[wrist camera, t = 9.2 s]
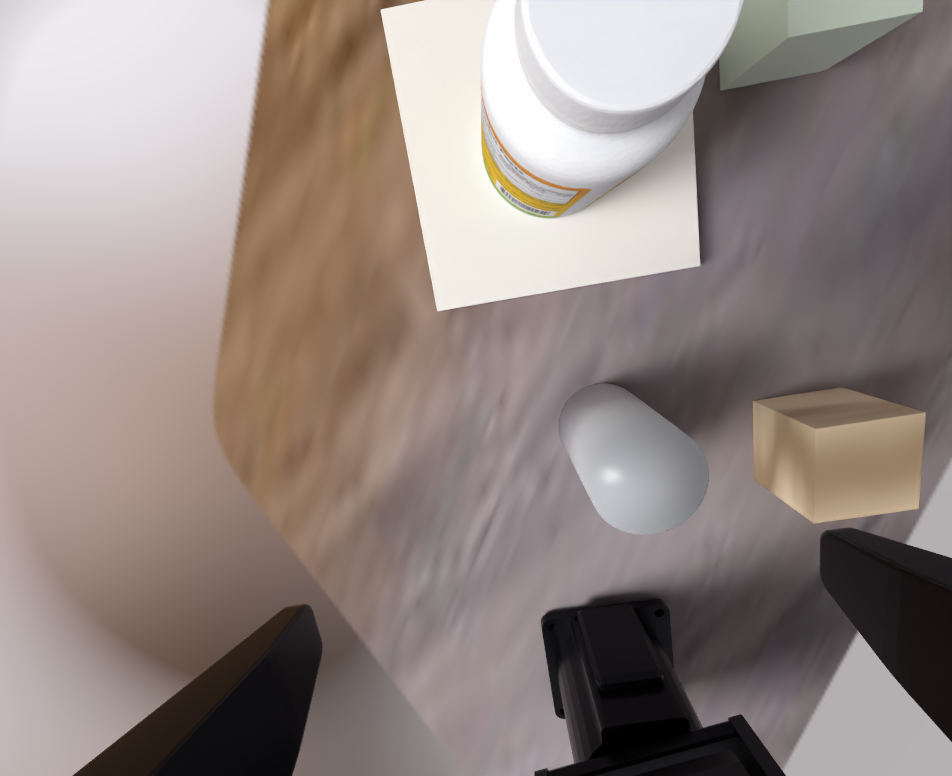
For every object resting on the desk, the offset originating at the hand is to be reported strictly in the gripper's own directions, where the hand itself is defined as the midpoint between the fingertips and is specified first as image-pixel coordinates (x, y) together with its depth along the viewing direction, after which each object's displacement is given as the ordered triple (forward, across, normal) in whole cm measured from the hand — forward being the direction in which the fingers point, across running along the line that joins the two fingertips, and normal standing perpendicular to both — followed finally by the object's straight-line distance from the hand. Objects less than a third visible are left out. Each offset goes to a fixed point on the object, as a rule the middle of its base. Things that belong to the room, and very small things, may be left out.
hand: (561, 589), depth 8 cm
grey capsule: (+13, -4, +2) cm, 14 cm away
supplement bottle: (+12, -3, -10) cm, 16 cm away
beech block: (+13, -13, +4) cm, 19 cm away
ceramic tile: (+13, -3, -10) cm, 17 cm away
